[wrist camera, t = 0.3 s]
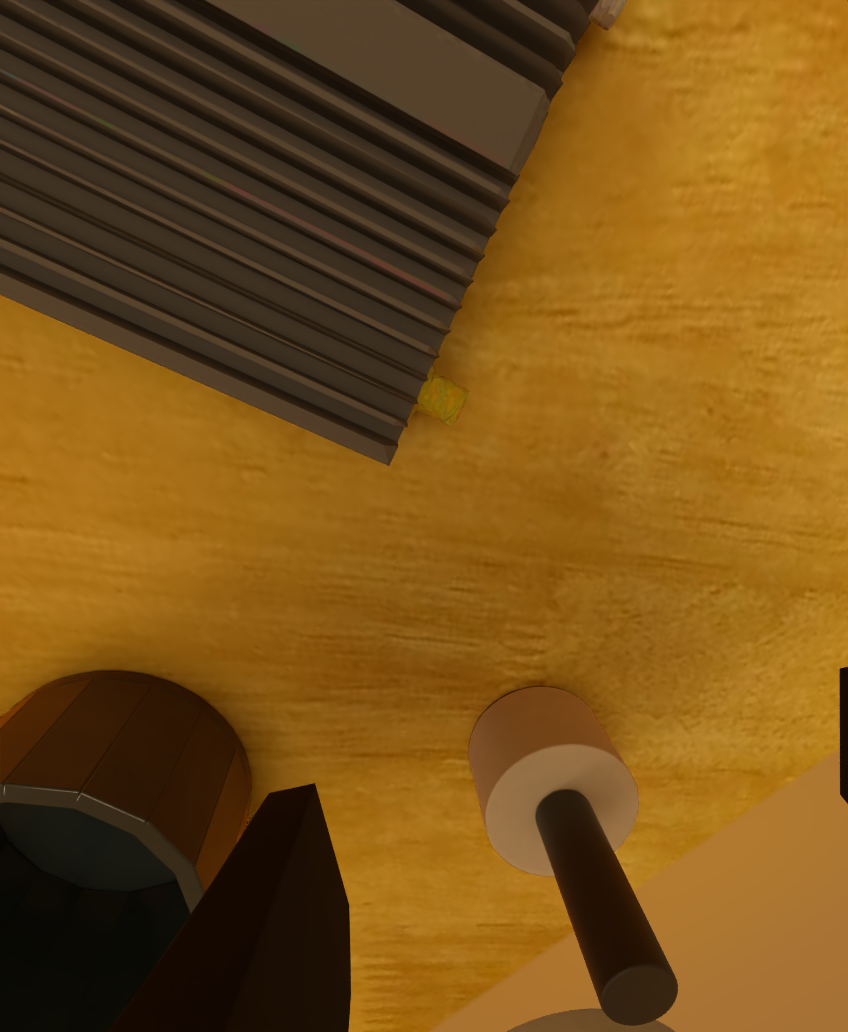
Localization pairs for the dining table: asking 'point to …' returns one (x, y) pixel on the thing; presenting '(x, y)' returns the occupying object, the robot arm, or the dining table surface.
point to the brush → (572, 836)
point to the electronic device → (273, 184)
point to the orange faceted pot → (106, 840)
